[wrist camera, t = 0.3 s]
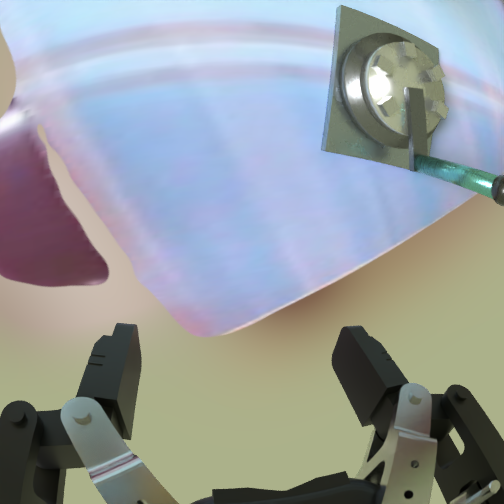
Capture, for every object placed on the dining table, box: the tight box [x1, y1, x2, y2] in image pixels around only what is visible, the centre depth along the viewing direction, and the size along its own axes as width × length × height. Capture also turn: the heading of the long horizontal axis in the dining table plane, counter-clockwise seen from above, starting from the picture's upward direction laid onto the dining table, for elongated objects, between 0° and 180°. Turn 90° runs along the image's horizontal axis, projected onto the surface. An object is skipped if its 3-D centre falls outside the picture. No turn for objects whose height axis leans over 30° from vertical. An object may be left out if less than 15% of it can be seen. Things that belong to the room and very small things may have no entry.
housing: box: [321, 5, 438, 173], centre depth 33 cm, size 22×18×4 cm
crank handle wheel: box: [360, 42, 504, 206], centre depth 24 cm, size 18×13×19 cm
